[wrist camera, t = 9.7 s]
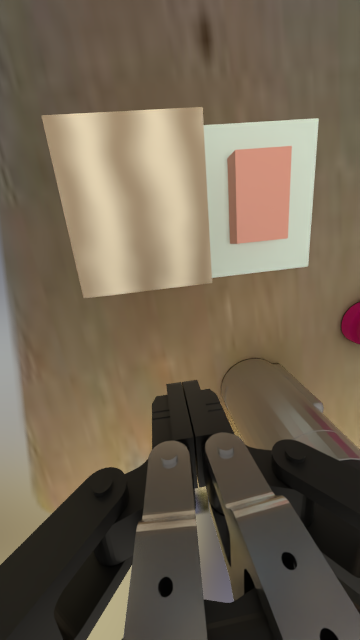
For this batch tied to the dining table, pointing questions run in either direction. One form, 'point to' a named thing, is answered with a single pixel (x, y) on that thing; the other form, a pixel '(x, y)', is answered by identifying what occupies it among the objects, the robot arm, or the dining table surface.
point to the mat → (303, 158)
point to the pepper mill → (352, 324)
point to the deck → (133, 197)
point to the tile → (259, 194)
